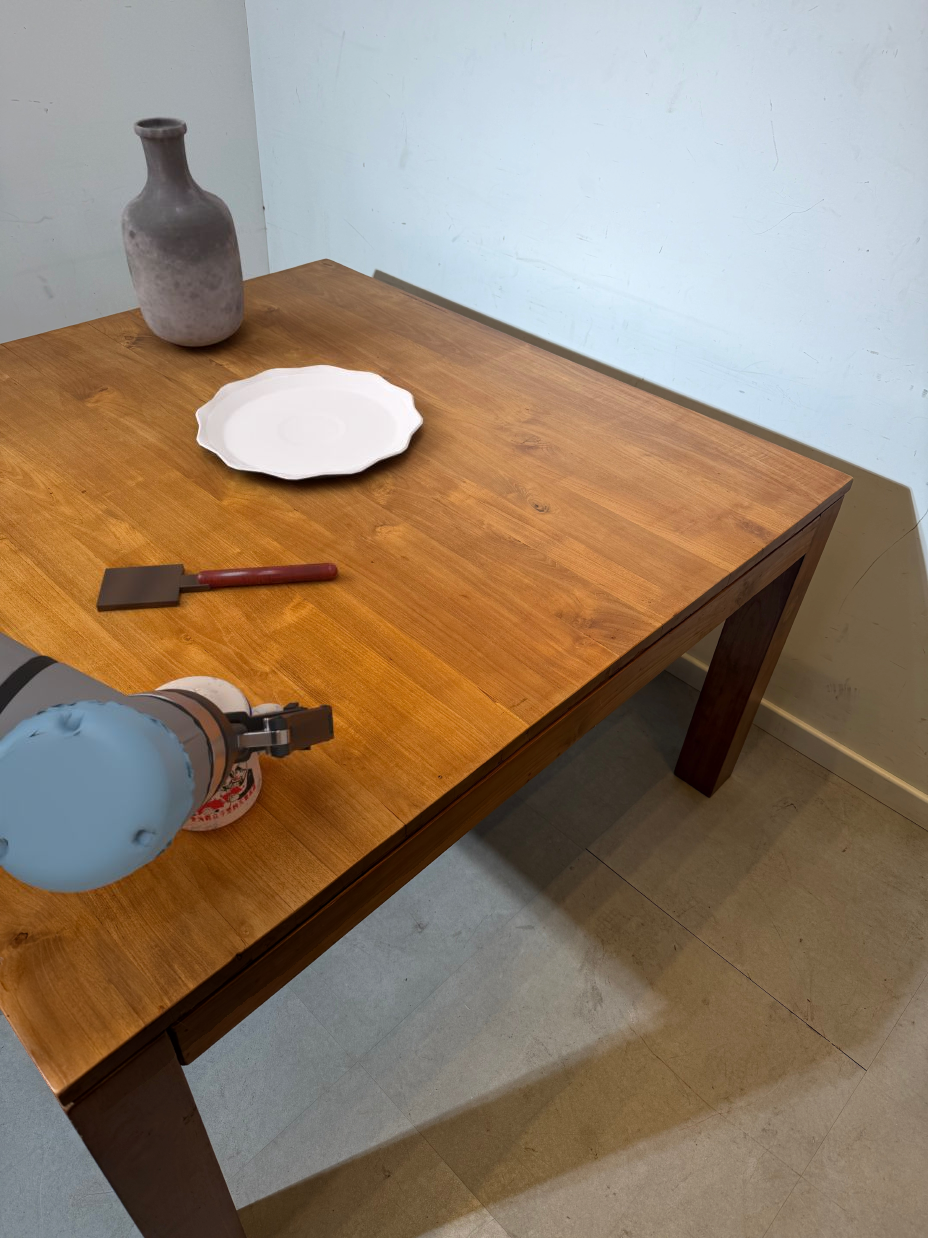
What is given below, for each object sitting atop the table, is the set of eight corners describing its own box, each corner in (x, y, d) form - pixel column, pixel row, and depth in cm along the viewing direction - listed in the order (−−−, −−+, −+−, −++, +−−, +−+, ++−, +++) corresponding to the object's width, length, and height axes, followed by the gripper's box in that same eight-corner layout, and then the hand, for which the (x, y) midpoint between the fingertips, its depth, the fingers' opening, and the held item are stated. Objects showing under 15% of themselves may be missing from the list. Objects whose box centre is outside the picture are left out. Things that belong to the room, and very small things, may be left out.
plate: (465, 437, 113) (465, 421, 111) (285, 522, 97) (283, 505, 95) (330, 361, 128) (329, 346, 126) (156, 425, 112) (152, 408, 110)
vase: (193, 310, 139) (155, 103, 119) (271, 331, 135) (245, 119, 114) (123, 345, 129) (68, 125, 108) (206, 370, 124) (165, 144, 103)
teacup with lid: (168, 853, 65) (134, 760, 57) (140, 769, 71) (106, 674, 63) (314, 794, 69) (301, 701, 62) (276, 720, 75) (260, 626, 67)
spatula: (97, 611, 85) (93, 598, 83) (107, 574, 89) (103, 560, 88) (339, 595, 88) (338, 582, 87) (337, 559, 92) (336, 546, 91)
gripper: (-63, 846, 46) (69, 784, 67) (375, 801, 49) (367, 756, 70) (-71, 709, 46) (64, 691, 67) (366, 674, 49) (361, 668, 71)
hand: (219, 725), depth 69 cm, fingers closed on teacup with lid, 12 cm apart
